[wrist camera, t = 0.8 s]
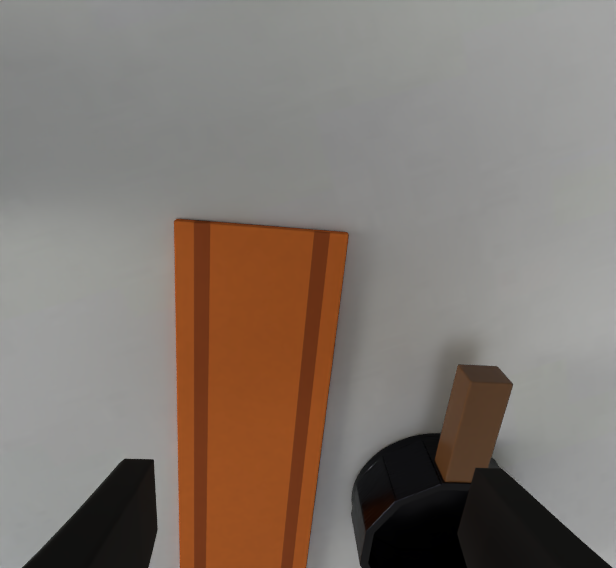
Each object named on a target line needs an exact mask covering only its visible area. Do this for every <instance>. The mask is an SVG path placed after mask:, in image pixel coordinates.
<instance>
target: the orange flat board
mask: <svg viewBox="0 0 616 568" xmlns="http://www.w3.org/2000/svg"><path fill="white" fill-rule="evenodd" d="M348 236H349V235H348V233H347V232H338V231H326V230H313V229H300V228H287V227H275V226H262V225H249V224H237V223H224V222H211V221H199V220H186V219H176V220H175V221H174V244H175V303H176V362H177V422H178V481H179V540H180V568H306V564H307V556H308V549H309V541H310V533H311V525H312V517H313V510H314V502H315V494H316V486H317V478H318V471H319V463H320V455H321V447H322V439H323V432H324V424H325V416H326V408H327V400H328V393H329V385H330V377H331V369H332V361H333V353H334V346H335V338H336V330H337V322H338V314H339V307H340V299H341V291H342V283H343V275H344V268H345V260H346V252H347V244H348Z"/></svg>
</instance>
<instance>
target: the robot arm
mask: <svg viewBox="0 0 616 568" xmlns="http://www.w3.org/2000/svg"><path fill="white" fill-rule="evenodd" d="M157 530H158V529H157V511H156V493H155V475H154V460H152V459H124V460H123V461H121V462H120V463H119V464H118V465H117V467H116V468H115V469H114V470H113V471H112V472H111V473H110V475H109V476H108V477H107V478H106V479H105V480H104V481H103V483H102V484H101V485H100V486H99V487H98V488H97V489H96V490H95V492H94V493H93V494H92V495H91V496H90V497H89V498H88V499H87V500H86V502H85V503H84V504H83V505H82V506H81V507H80V508H79V509H78V510H77V511H76V513H75V514H74V515H73V516H72V517H71V518H70V519H69V520H68V521H67V522H66V523H65V524H64V525H63V526H62V527H61V528H60V529H59V531H58V532H57V533H56V534H55V535H54V536H53V537H52V538H51V539H50V540H49V541H48V542H47V543H46V544H45V545H44V546H43V547H42V548H41V549H40V550H39V551H38V552H37V553H36V554H35V555H34V556H33V557H32V558H31V559H30V560H29V561H28V562H27V563H26V564H25V565H24V566H23V567H22V568H148V567H149V563H150V559H151V555H152V551H153V547H154V542H155V538H156V534H157ZM457 535H458V538H459V542H460V545H461V549H462V552H463V556H464V559H465V563H466V566H467V568H612V567H611V566H610V565H609V564H608V563H606V562H605V561H604V560H603V559H602V558H601V557H599V556H598V555H597V554H596V553H595V552H594V551H593V550H591V549H590V548H589V547H588V546H587V545H586V544H585V543H583V542H582V541H581V540H580V539H579V538H578V537H577V536H576V535H574V534H573V533H572V532H571V531H570V530H569V529H568V528H567V527H566V526H565V525H563V524H562V523H561V522H560V521H559V520H558V519H557V518H556V517H555V516H554V515H552V514H551V513H550V512H549V511H548V510H547V509H546V508H545V507H544V506H543V505H541V504H540V503H539V502H538V501H537V500H536V499H535V498H534V497H533V496H532V495H531V494H529V493H528V492H527V491H526V490H525V489H524V488H523V487H522V486H521V485H519V484H518V483H517V482H516V481H515V480H514V479H513V478H512V477H511V476H509V475H508V474H507V473H506V472H505V471H504V470H502V469H501V468H475V471H474V475H473V478H472V482H471V485H470V489H469V493H468V496H467V500H466V504H465V507H464V511H463V514H462V518H461V522H460V525H459V529H458V532H457Z"/></svg>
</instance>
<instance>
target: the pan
mask: <svg viewBox="0 0 616 568" xmlns="http://www.w3.org/2000/svg"><path fill="white" fill-rule="evenodd" d="M512 387H513V383H512V382H511V381H510V380H509V379H508V378H507V377H506V375H505V374H504V373H503V372H502V371H501V370H500V369H499V368H498V367H497V366H482V365H464V364H458V366H457V370H456V374H455V378H454V382H453V386H452V390H451V394H450V399H449V403H448V407H447V411H446V415H445V419H444V423H443V427H442V431H441V434H423V435H417V436H412V437H409V438H406V439H403V440H400V441H398V442H395V443H393V444H391V445H389V446H388V447H386V448H384V449H383V450H381V451H380V452H378V453H377V454H376V455H375V456H373V457H372V458H371V459H370V460H369V461H368V462H367V463H366V465H365V466H364V467H363V468H362V470H361V471H360V473H359V475H358V476H357V479H356V481H355V483H354V487H353V491H352V512H351V516H352V521H353V527H354V533H355V539H356V544H357V550H358V556H359V562H360V566H361V567H362V568H467V566H466V563H465V559H464V556H463V552H462V549H461V545H460V542H459V538H458V535H457V532H458V529H459V525H460V522H461V518H462V514H463V511H464V507H465V504H466V500H467V496H468V493H469V489H470V485H471V482H472V478H473V475H474V471H475V468H499V466H498V465H497V463H496V461H495V460H494V459H493V458H491V457H492V453H493V450H494V447H495V443H496V440H497V437H498V433H499V430H500V427H501V423H502V420H503V417H504V414H505V410H506V407H507V404H508V400H509V397H510V394H511V390H512Z"/></svg>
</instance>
